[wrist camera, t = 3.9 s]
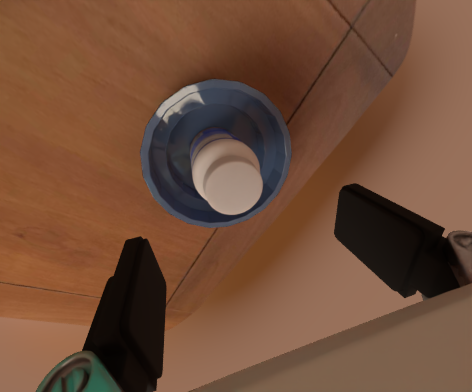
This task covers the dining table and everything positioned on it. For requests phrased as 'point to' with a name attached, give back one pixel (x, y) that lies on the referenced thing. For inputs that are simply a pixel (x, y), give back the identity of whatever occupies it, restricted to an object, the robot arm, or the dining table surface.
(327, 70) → the dining table surface
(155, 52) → the dining table surface
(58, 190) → the dining table surface
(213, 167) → the pill bottle
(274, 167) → the bowl
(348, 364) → the robot arm
